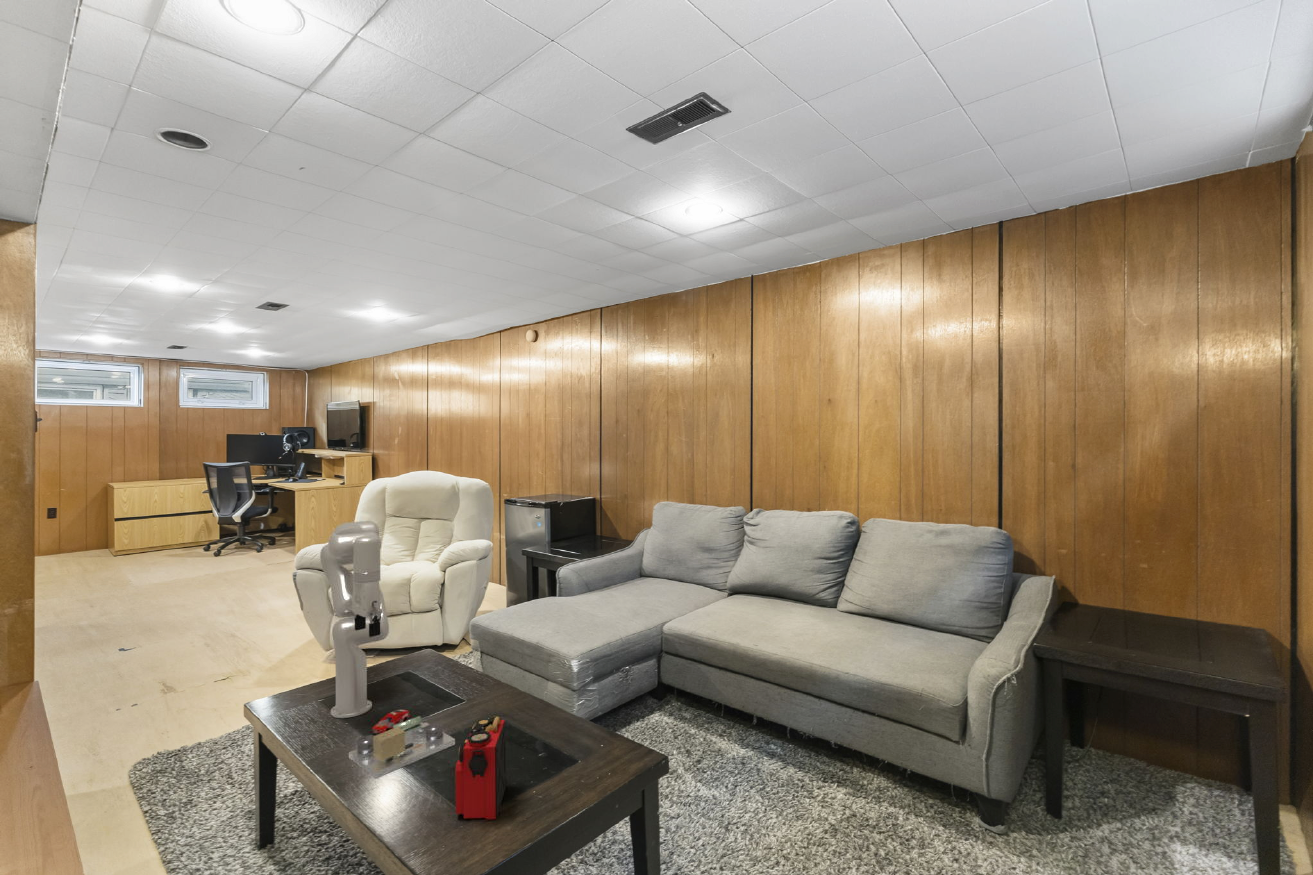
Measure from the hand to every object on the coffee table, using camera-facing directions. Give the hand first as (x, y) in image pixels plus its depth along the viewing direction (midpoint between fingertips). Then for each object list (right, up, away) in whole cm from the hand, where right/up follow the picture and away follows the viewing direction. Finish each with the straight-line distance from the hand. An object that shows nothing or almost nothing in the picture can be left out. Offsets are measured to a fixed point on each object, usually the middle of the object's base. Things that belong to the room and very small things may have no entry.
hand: (367, 632), depth 186 cm
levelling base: (+13, -33, -6) cm, 36 cm away
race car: (+3, -34, +10) cm, 35 cm away
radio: (+45, -33, -33) cm, 65 cm away
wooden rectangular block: (+14, -31, -12) cm, 36 cm away
